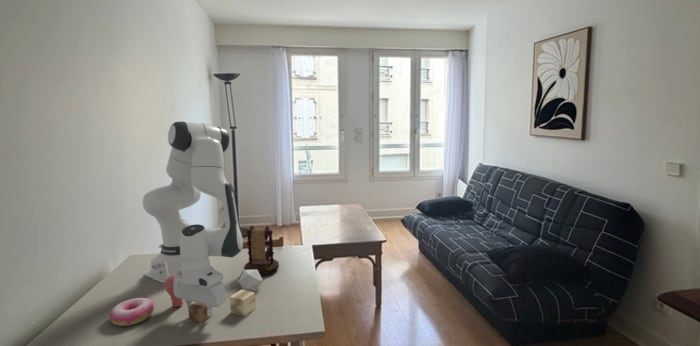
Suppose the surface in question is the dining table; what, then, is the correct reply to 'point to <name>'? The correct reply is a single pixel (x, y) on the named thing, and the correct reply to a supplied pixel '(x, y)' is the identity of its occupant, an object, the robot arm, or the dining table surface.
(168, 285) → the light bulb
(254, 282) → the die
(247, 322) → the dining table surface
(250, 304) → the oak cube
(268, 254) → the scroll
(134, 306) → the donut
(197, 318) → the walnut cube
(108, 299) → the dining table surface
